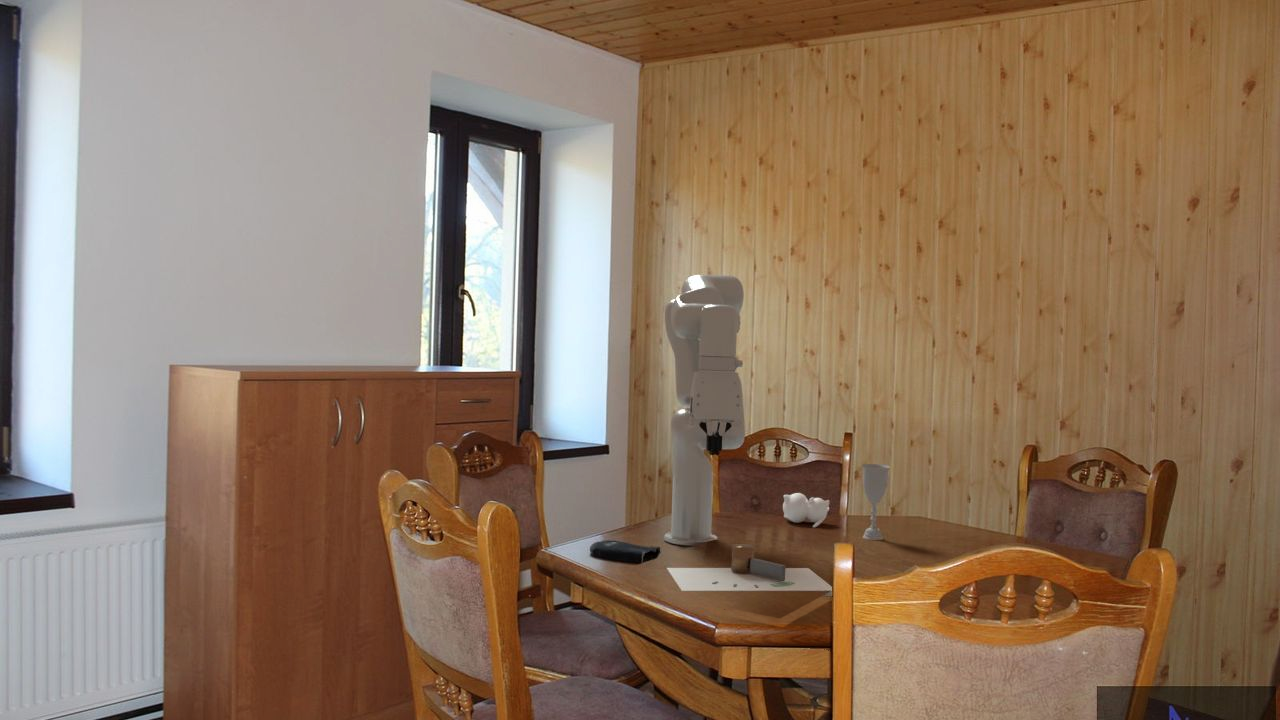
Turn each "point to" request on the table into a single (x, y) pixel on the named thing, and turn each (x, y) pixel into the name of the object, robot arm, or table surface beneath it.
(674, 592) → the table surface
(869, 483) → the chalice
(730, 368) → the robot arm
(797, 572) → the dial board
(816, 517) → the cat figurine
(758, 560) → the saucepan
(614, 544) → the electronic device
